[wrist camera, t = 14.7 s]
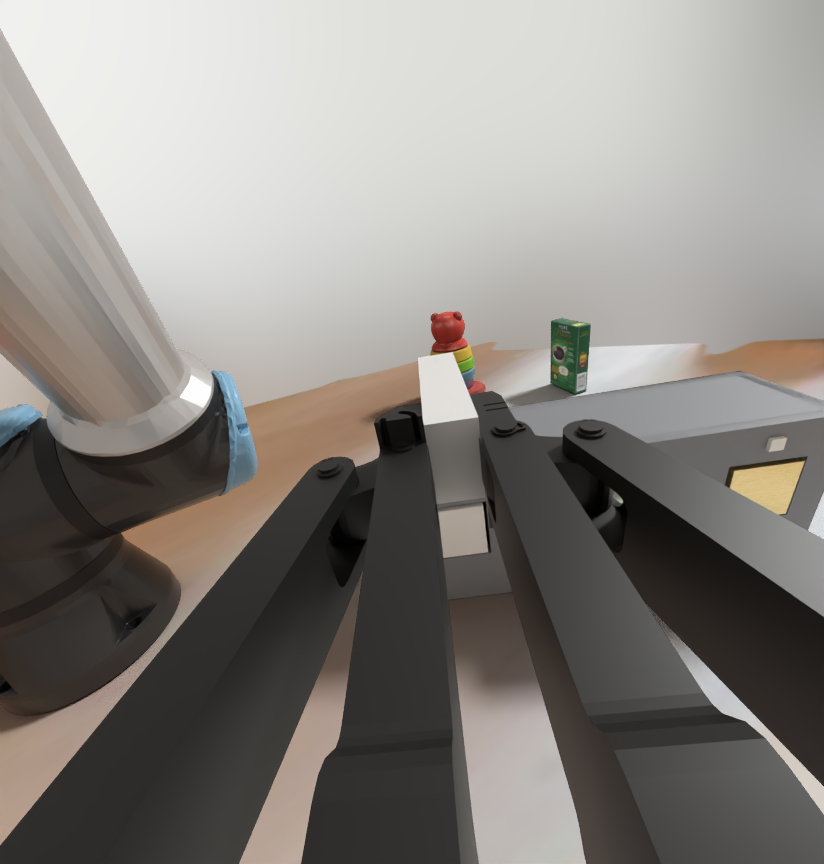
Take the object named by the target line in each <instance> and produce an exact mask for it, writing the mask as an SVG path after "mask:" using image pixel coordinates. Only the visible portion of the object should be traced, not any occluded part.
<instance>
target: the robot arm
mask: <svg viewBox="0 0 824 864" xmlns="http://www.w3.org/2000/svg"><path fill="white" fill-rule="evenodd" d="M0 353H1V354H2V355H3V356H4V357H5V358H6V359H7V360H8V361H9V362H10V363H11V364H12V365H13V366H14V367H16V368H17V369H18V370H19V371H20V372H21V373H22V374H23V375H24V376H25V377H26V378H27V379H28V380H29V381H30V382H31V383H33V384H34V385H35V386H36V387H37V388H38V389H39V390H40V391H41V392H42V393H43V394H44V395H45V396H46V397H47V398H48V399H50V401H51V402H50V404H49V407H48V411H47V418H46V419H43V418H42V413H41V412H40V411H38V410H36V409H35V408H34V407H32V406H30V405H27V404H24V405H23V404H22V405H18V406H16V407H11V408H6V409H3V410H0V704H1V705H2V706H3V707H4V708H6V709H7V710H8V711H10V712H11V713H14V714H18V715H35V714H41V713H45V712H48V711H52V710H55V709H58V708H60V707H63V706H65V705H68V704H70V703H72V702H74V701H76V700H78V699H80V698H82V697H84V696H86V695H88V694H89V693H91V692H93V691H95V690H96V689H98V688H99V687H101V686H102V685H104V684H106V683H107V682H108V681H110V680H111V679H113V678H114V677H115V676H117V675H118V674H119V673H121V672H122V671H123V670H125V669H126V668H127V667H128V666H129V665H131V664H132V663H133V662H134V661H135V660H136V659H137V658H139V657H140V656H141V655H142V654H143V653H144V652H145V651H146V650H147V649H148V648H149V647H150V646H151V645H152V644H153V642H154V641H155V640H156V639H157V638H158V637H159V635H160V634H161V633H162V632H163V630H164V629H165V628H166V626H167V625H168V623H169V622H170V620H171V619H172V617H173V615H174V613H175V611H176V609H177V607H178V604H179V601H180V596H181V588H180V584H179V582H178V580H177V579H176V577H175V576H174V574H173V573H172V571H171V570H170V568H169V567H168V566H166V565H165V564H164V563H162V562H161V561H159V560H158V559H156V558H154V557H153V556H151V555H149V554H148V553H146V552H145V551H143V550H141V549H140V548H138V547H136V546H135V545H133V544H132V543H130V542H128V541H127V540H126V539H125V538H124V537H123V535H122V534H121V532H124V531H126V530H128V529H131V528H133V527H136V526H139V525H141V524H144V523H146V522H149V521H152V520H154V519H157V518H160V517H162V516H165V515H168V514H170V513H173V512H176V511H179V510H181V509H184V508H187V507H189V506H192V505H195V504H197V503H200V502H203V501H205V500H208V499H211V498H213V497H216V496H221V495H225V494H226V493H227V492H229V490H231V489H234V488H236V487H238V486H240V485H243V484H245V483H247V482H249V481H250V480H252V479H253V478H254V476H255V475H256V473H257V469H258V462H257V456H256V451H255V447H254V443H253V439H252V435H251V432H250V429H249V428H248V422H247V419H246V414H245V411H244V408H243V405H242V402H241V399H240V396H239V393H238V390H237V388H236V385H235V383H234V381H233V379H232V377H231V376H230V374H229V373H227V372H225V371H219V372H217V371H212V372H210V370H209V368H208V367H207V366H206V364H205V363H204V362H203V361H202V360H201V359H200V358H198V357H197V356H195V355H193V354H191V353H189V352H186V351H184V350H180V349H176V347H175V346H174V344H173V342H172V340H171V338H170V336H169V335H168V333H167V331H166V329H165V327H164V325H163V324H162V322H161V320H160V318H159V316H158V315H157V313H156V311H155V309H154V307H153V306H152V304H151V302H150V300H149V298H148V297H147V295H146V293H145V291H144V289H143V287H142V286H141V284H140V282H139V280H138V278H137V276H136V275H135V273H134V271H133V269H132V267H131V266H130V264H129V262H128V260H127V258H126V257H125V255H124V253H123V251H122V249H121V247H120V246H119V244H118V242H117V240H116V238H115V236H114V235H113V233H112V231H111V229H110V227H109V226H108V224H107V222H106V220H105V218H104V216H103V215H102V213H101V211H100V209H99V207H98V206H97V204H96V202H95V200H94V198H93V197H92V195H91V193H90V191H89V189H88V187H87V186H86V184H85V182H84V180H83V178H82V177H81V175H80V173H79V171H78V170H77V167H76V166H75V164H74V162H73V160H72V159H71V157H70V155H69V153H68V151H67V149H66V147H65V146H64V144H63V142H62V140H61V138H60V137H59V135H58V133H57V131H56V129H55V128H54V126H53V124H52V123H51V121H50V118H49V117H48V115H47V113H46V111H45V109H44V108H43V106H42V104H41V102H40V100H39V98H38V97H37V95H36V93H35V91H34V89H33V88H32V86H31V84H30V82H29V80H28V78H27V77H26V75H25V73H24V71H23V70H22V68H21V66H20V64H19V62H18V60H17V59H16V57H15V55H14V53H13V51H12V50H11V48H10V46H9V44H8V42H7V41H6V39H5V37H4V35H3V33H2V31H1V29H0ZM418 363H419V377H420V390H421V403H418V404H411V405H405V406H398V407H396V408H395V409H394V410H393V411H390V412H388V413H385V414H383V415H381V416H380V417H378V418H377V419H376V421H375V422H374V425H375V430H376V434H377V438H378V442H379V446H380V454H379V457H378V458H377V459H375V460H373V461H371V462H369V463H366V464H364V465H361V466H358V467H355V465H354V462H353V460H351V459H349V458H347V457H331V458H328V459H324V460H322V461H321V462H319V463H317V464H315V465H314V466H312V467H311V468H310V469H309V470H308V471H307V472H306V474H305V475H304V476H303V477H302V478H301V480H300V481H299V482H298V483H297V485H296V486H295V487H294V488H293V489H292V491H291V492H290V493H289V494H288V496H287V497H286V498H285V499H284V500H283V502H282V503H281V504H280V505H279V507H278V508H277V509H276V510H275V511H274V513H273V514H272V515H271V516H270V517H269V519H268V520H267V521H266V522H265V524H264V525H263V526H262V527H261V528H260V530H259V531H258V532H257V533H256V535H255V536H254V537H253V538H252V539H251V541H250V542H249V543H248V544H247V546H246V547H245V548H244V549H243V550H242V552H241V553H240V554H239V555H238V556H237V558H236V559H235V560H234V561H233V563H232V564H231V565H230V566H229V567H228V569H227V570H226V571H225V572H224V574H223V575H222V576H221V577H220V578H219V580H218V581H217V582H216V583H215V585H214V586H213V587H212V588H211V589H210V591H209V592H208V593H207V594H206V595H205V597H204V598H203V599H202V600H201V602H200V603H199V604H198V605H197V606H196V608H195V609H194V610H193V611H192V613H191V614H190V615H189V616H188V617H187V619H186V620H185V621H184V622H183V624H182V625H181V626H180V627H179V628H178V630H177V631H176V632H175V633H174V634H173V636H172V637H171V638H170V639H169V641H168V642H167V643H166V644H165V645H164V647H163V648H162V649H161V650H160V652H159V653H158V654H157V655H156V656H155V658H154V659H153V660H152V661H151V663H150V664H149V665H148V666H147V667H146V669H145V670H144V671H143V672H142V673H141V675H140V676H139V677H138V678H137V680H136V681H135V682H134V683H133V684H132V686H131V687H130V688H129V689H128V691H127V692H126V693H125V694H124V695H123V697H122V698H121V699H120V700H119V702H118V703H117V704H116V705H115V706H114V708H113V709H112V710H111V711H110V712H109V714H108V715H107V716H106V717H105V719H104V720H103V721H102V722H101V723H100V725H99V726H98V727H97V728H96V730H95V731H94V732H93V733H92V734H91V736H90V737H89V738H88V739H87V741H86V742H85V743H84V744H83V745H82V747H81V748H80V749H79V750H78V751H77V753H76V754H75V755H74V756H73V758H72V759H71V760H70V761H69V762H68V764H67V765H66V766H65V767H64V769H63V770H62V771H61V772H60V773H59V775H58V776H57V777H56V778H55V780H54V781H53V782H52V783H51V784H50V786H49V787H48V788H47V789H46V790H45V792H44V793H43V794H42V795H41V797H40V798H39V799H38V800H37V801H36V803H35V804H34V805H33V806H32V808H31V809H30V810H29V811H28V812H27V814H26V815H25V816H24V817H23V819H22V820H21V821H20V822H19V823H18V825H17V826H16V827H15V828H14V829H13V831H12V832H11V833H10V834H9V836H8V837H7V838H6V839H5V840H4V842H3V843H2V844H1V845H0V864H239V862H240V859H241V857H242V855H243V852H244V850H245V848H246V845H247V843H248V841H249V838H250V836H251V833H252V831H253V829H254V826H255V824H256V822H257V819H258V817H259V815H260V812H261V810H262V807H263V805H264V803H265V800H266V798H267V796H268V793H269V791H270V789H271V786H272V784H273V781H274V779H275V777H276V774H277V772H278V770H279V767H280V765H281V763H282V760H283V758H284V755H285V753H286V751H287V748H288V746H289V744H290V741H291V739H292V737H293V734H294V732H295V729H296V727H297V725H298V722H299V720H300V718H301V715H302V713H303V711H304V708H305V706H306V703H307V701H308V699H309V696H310V694H311V692H312V689H313V687H314V685H315V682H316V680H317V678H318V675H319V673H320V670H321V668H322V666H323V663H324V661H325V659H326V656H327V654H328V652H329V649H330V647H331V644H332V642H333V640H334V637H335V635H336V633H337V630H338V628H339V626H340V623H341V621H342V618H343V616H344V614H345V611H346V609H347V607H348V604H349V602H350V600H351V597H352V595H353V592H354V590H355V588H356V585H357V583H358V581H359V578H360V576H361V574H362V571H363V576H362V583H361V590H360V597H359V605H358V612H357V619H356V626H355V633H354V641H353V648H352V655H351V662H350V669H349V676H348V684H347V691H346V698H345V705H344V712H343V720H342V727H341V732H340V737H339V740H338V743H337V746H336V748H335V749H334V750H333V751H332V752H331V753H330V754H329V755H328V756H327V757H326V758H325V760H324V762H323V764H322V767H321V769H320V772H319V774H318V778H317V782H316V787H315V791H314V795H313V800H312V804H311V810H310V816H309V822H308V827H307V833H306V839H305V845H304V851H303V856H302V862H301V864H479V862H478V855H477V848H476V841H475V834H474V826H473V819H472V810H471V801H470V792H469V783H468V774H467V765H466V756H465V747H464V738H463V729H462V720H461V711H460V702H459V693H458V684H457V675H456V666H455V658H454V649H453V640H452V631H451V622H450V613H449V604H448V595H447V586H446V577H445V568H444V559H443V550H442V541H441V532H440V523H439V514H438V508H437V504H442V503H449V502H457V501H464V500H472V499H479V498H485V490H486V493H487V504H488V516H489V528H494V531H495V535H496V538H497V541H498V545H499V548H500V552H501V555H502V559H503V562H504V565H505V569H506V572H507V576H508V579H509V582H510V586H511V589H512V593H513V596H514V600H515V603H516V606H517V610H518V613H519V617H520V620H521V624H522V627H523V630H524V634H525V637H526V641H527V644H528V648H529V651H530V654H531V658H532V661H533V665H534V668H535V672H536V675H537V678H538V682H539V685H540V689H541V692H542V696H543V699H544V702H545V706H546V709H547V713H548V716H549V720H550V723H551V726H552V730H553V733H554V737H555V740H556V743H557V747H558V750H559V754H560V757H561V761H562V764H563V767H564V771H565V774H566V778H567V781H568V785H569V788H570V791H571V795H572V798H573V802H574V806H575V809H576V813H577V818H578V822H579V827H580V833H581V838H582V844H583V850H584V855H585V860H586V864H824V815H823V813H822V812H821V811H820V809H819V808H818V806H817V805H816V804H815V802H814V801H813V800H812V798H811V797H810V795H809V794H808V793H807V791H806V790H805V788H804V787H803V786H802V784H801V783H800V781H799V780H798V779H797V778H796V776H795V775H794V773H793V772H792V770H791V769H790V768H789V766H788V765H787V764H786V763H785V761H784V760H783V759H782V758H781V757H780V755H778V753H777V752H776V751H775V749H774V748H773V747H772V746H771V745H770V743H769V742H768V741H767V740H766V739H765V738H764V737H763V736H762V735H761V734H760V733H758V732H757V731H756V730H755V729H754V728H752V727H751V726H750V725H749V724H748V723H746V722H745V721H742V720H739V719H736V718H734V717H731V716H728V715H725V714H723V713H721V712H720V711H719V710H718V709H717V708H716V707H715V706H713V704H712V703H711V702H710V701H709V699H708V698H707V697H706V695H705V694H704V693H703V691H702V690H701V688H700V687H699V685H698V684H697V682H696V680H695V679H694V677H693V676H692V674H691V673H690V671H689V670H688V668H687V667H686V665H685V664H684V662H683V661H682V659H681V657H680V656H679V654H678V653H677V651H676V650H675V648H674V647H673V645H672V644H671V642H670V641H669V639H668V638H667V636H666V635H665V633H664V631H663V630H662V628H661V627H660V625H659V624H658V622H657V621H656V619H655V618H654V616H653V615H652V613H651V612H650V610H649V608H648V607H647V605H648V606H649V607H650V608H651V609H652V610H653V611H654V612H655V613H656V614H657V615H658V616H659V617H660V618H661V619H662V620H663V621H664V622H665V623H666V624H667V625H668V626H669V627H670V628H671V630H672V631H673V632H674V633H675V634H676V635H677V636H678V637H679V638H680V639H681V640H682V641H683V642H684V643H685V644H686V645H687V646H688V647H689V648H690V649H691V650H692V651H693V652H694V653H695V654H696V655H697V656H698V657H699V658H700V659H701V660H702V661H703V662H704V663H705V665H706V666H707V667H708V668H709V669H710V670H711V671H712V672H713V673H714V674H715V675H716V676H717V677H718V678H719V679H720V680H721V681H722V682H723V683H724V684H725V685H726V686H727V687H728V688H729V689H730V690H731V691H732V692H733V693H734V694H735V695H736V696H737V697H738V698H739V700H740V701H741V702H742V703H743V704H744V705H745V706H746V707H747V708H748V709H749V710H750V711H751V712H752V713H753V714H754V715H755V716H756V717H757V718H758V719H759V720H760V721H761V722H762V723H763V724H764V725H765V726H766V727H767V728H768V729H769V730H770V731H771V732H772V733H773V735H774V736H775V737H776V738H777V739H779V741H780V742H781V743H782V744H783V745H784V746H785V747H786V748H787V749H788V750H789V751H790V752H791V753H792V754H793V755H794V756H795V757H796V758H797V759H798V760H799V761H800V762H801V763H802V764H803V765H804V766H805V767H806V768H807V770H808V771H810V773H811V774H812V775H814V777H815V778H816V779H817V780H818V781H819V782H820V783H821V784H822V785H823V786H824V539H822V538H820V537H818V536H816V535H815V534H813V533H811V532H809V531H807V530H805V529H804V528H802V527H800V526H798V525H796V524H794V523H793V522H791V521H789V520H787V519H785V518H783V517H782V516H780V515H778V514H776V513H774V512H772V511H770V510H769V509H767V508H765V507H763V506H761V505H759V504H758V503H756V502H754V501H752V500H750V499H748V498H747V497H745V496H743V495H741V494H739V493H737V492H736V491H734V490H732V489H730V488H728V487H726V486H725V485H723V484H721V483H719V482H717V481H715V480H714V479H712V478H710V477H708V476H706V475H704V474H703V473H701V472H699V471H697V470H695V469H693V468H692V467H690V466H688V465H686V464H684V463H682V462H681V461H679V460H677V459H675V458H673V457H671V456H670V455H668V454H666V453H664V452H662V451H660V450H659V449H657V448H655V447H653V446H651V445H649V444H648V443H646V442H644V441H642V440H640V439H638V438H637V437H635V436H633V435H631V434H629V433H627V432H626V431H624V430H622V429H620V428H618V427H616V426H614V425H612V424H610V423H607V422H604V421H598V420H595V419H589V420H588V419H583V420H579V421H574V422H571V423H569V424H567V425H566V426H565V427H564V428H563V437H549V436H538V435H535V434H534V432H533V431H532V429H531V428H530V427H529V426H528V425H527V424H526V423H524V422H521V421H518V420H516V419H515V418H514V416H513V414H512V413H511V411H510V410H509V408H508V406H507V405H506V403H505V401H504V400H503V398H502V396H501V395H499V394H497V393H495V392H493V391H489V392H483V393H476V394H470V395H469V392H468V390H467V387H466V385H465V382H464V380H463V377H462V375H461V372H460V370H459V367H458V365H457V362H456V360H455V357H454V355H453V352H451V353H445V354H438V355H432V356H426V357H420V358H418ZM484 487H485V488H484ZM614 491H615V492H616V493H617V494H618V495H619V496H620V497H621V498H622V500H623V503H620V502H618V501H617V500H616V499H615V498H613V495H614ZM645 603H646V604H647V605H646V604H645Z"/></svg>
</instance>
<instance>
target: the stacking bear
mask: <svg viewBox="0 0 824 864" xmlns="http://www.w3.org/2000/svg"><path fill="white" fill-rule="evenodd" d="M431 321H432V324H431V331H432V335H433V337H434V339H435V340H436V342H435V343H434V344H433V346H432V350H431V354H430V356H432V355H438V354H445V353H451V352H453V355H454V357H455V360H456V362H457V365H458V367H459V370H460V372H461V375H462V377H463V380H464V382H465V385H466V387H467V390H468V392H469V395H470V394H476V393H483V392H484V391H485V385H484V384H483V383H482V382H478V381H473V378H474V371H475V366H474V359H473V356H472V353H471V349H470V347H469V345H468V343H467V341H466V340H465V339H463V338H462V335H463V333H464V329H465V324H464V320H463V319H462V315H461V313H460V312H444V313H441V314H437V313H434V314H432V316H431Z"/></svg>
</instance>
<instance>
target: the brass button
mask: <svg viewBox="0 0 824 864" xmlns="http://www.w3.org/2000/svg"><path fill="white" fill-rule="evenodd" d="M804 462H805V461H804V460H802V459H800V458H791V459H783V460H776V461H769V462H762V463H755V464H748V465H741V466H734V467H729V471H728V474H727V478H726V482H725V486H726V487H728V488H730V489H732V490H734V491H736V492H737V493H739V494H741V495H743V496H745V497H747V498H748V499H750V500H752V501H754V502H756V503H758V504H759V505H761V506H763V507H765V508H767V509H769V510H770V511H772V512H774V513H776V514H778V515H779V514H786V512H787V509H788V506H789V503H790V501H791V498H792V495H793V492H794V490H795V487H796V484H797V481H798V479H799V476H800V473H801V470H802V468H803V465H804Z"/></svg>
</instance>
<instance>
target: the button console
mask: <svg viewBox="0 0 824 864" xmlns="http://www.w3.org/2000/svg"><path fill="white" fill-rule="evenodd" d="M508 408H509V410H510V411H511V413H512V414H513V416H514V418H515V419H516V420H518V421H521V422H524V423H526V424H527V425H528V426H529V427H530V428H531V429H532V431H533V432H534V434H535V435H538V436H549V437H563V428H564V427H565V426H566V425H567V424H569V423H571V422H574V421H579V420H583V419H588V420H589V419H595V420H598V421H604V422H607V423H610V424H612V425H614V426H616V427H618V428H620V429H622V430H624V431H626V432H627V433H629V434H631V435H633V436H635V437H637V438H638V439H640V440H642V441H644V442H646V443H648V444H649V445H651V446H653V447H655V448H657V449H659V450H660V451H662V452H664V453H666V454H668V455H670V456H671V457H673V458H675V459H677V460H679V461H681V462H682V463H684V464H686V465H688V466H690V467H692V468H693V469H695V470H697V471H699V472H701V473H703V474H704V475H706V476H708V477H710V478H712V479H714V480H715V481H717V482H719V483H721V484H723V485H725V482H726V478H727V474H728V471H729V467H734V466H741V465H748V464H755V463H762V462H769V461H776V460H783V459H791V458H800V459H802V460H804V461H805V462H804V465H803V468H802V470H801V473H800V476H799V479H798V481H797V484H796V487H795V490H794V492H793V495H792V498H791V501H790V503H789V506H788V509H787V512H786V514H779V515H780V516H782V517H783V518H785V519H787V520H789V521H791V522H793V523H794V524H796V525H798V526H800V527H802V528H804V529H805V530H807V531H808V529H809V526H810V524H811V521H812V519H813V516H814V514H815V511H816V509H817V506H818V504H819V502H820V499H821V497H822V494H823V492H824V401H823V400H820V399H817V398H814V397H811V396H809V395H806V394H803V393H800V392H797V391H795V390H792V389H789V388H786V387H784V386H781V385H778V384H775V383H772V382H770V381H767V380H764V379H761V378H759V377H756V376H753V375H750V374H747V373H745V372H742V371H735V372H728V373H722V374H716V375H709V376H703V377H697V378H691V379H684V380H678V381H672V382H665V383H659V384H653V385H646V386H640V387H634V388H628V389H621V390H615V391H609V392H602V393H596V394H590V395H583V396H577V397H571V398H564V399H558V400H552V401H546V402H539V403H533V404H527V405H520V406H514V407H508ZM484 488H485V487H484ZM477 502H482V504H483V509H484V518H485V527H487V528H488V537H489V545H487V546H488V552H486V553H478V554H471V555H463V556H455V557H447V558H443V559H444V568H445V577H446V586H447V595H448V600H451V599H460V598H468V597H476V596H484V595H493V594H501V593H509V592H512V589H511V586H510V582H509V579H508V576H507V572H506V569H505V565H504V562H503V559H502V555H501V552H500V548H499V545H498V541H497V538H496V535H495V531H494V528H489V516H488V504H487V493H486V490H485V498H479V499H472V500H464V501H457V502H449V503H442V504H437V508H441V507H448V506H455V505H462V504H470V503H477Z"/></svg>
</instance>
